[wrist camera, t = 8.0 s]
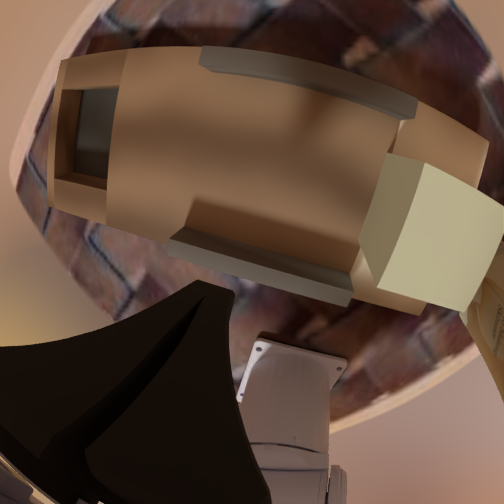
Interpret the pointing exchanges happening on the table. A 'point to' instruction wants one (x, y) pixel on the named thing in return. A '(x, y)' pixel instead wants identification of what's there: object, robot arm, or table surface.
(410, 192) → the sage block
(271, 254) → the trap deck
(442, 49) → the table surface
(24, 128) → the table surface
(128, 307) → the table surface
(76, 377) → the robot arm
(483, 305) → the skincare box
